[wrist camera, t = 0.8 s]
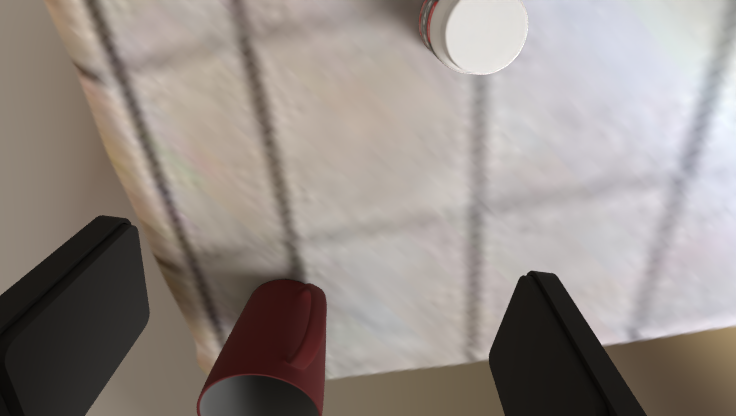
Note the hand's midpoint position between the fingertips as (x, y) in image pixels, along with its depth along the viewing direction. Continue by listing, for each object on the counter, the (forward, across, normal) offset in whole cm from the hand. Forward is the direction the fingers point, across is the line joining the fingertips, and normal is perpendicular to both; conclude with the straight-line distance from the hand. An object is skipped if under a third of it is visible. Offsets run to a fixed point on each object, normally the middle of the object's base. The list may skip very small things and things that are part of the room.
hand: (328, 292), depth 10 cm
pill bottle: (+22, -6, -6) cm, 23 cm away
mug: (+22, +3, +20) cm, 30 cm away
